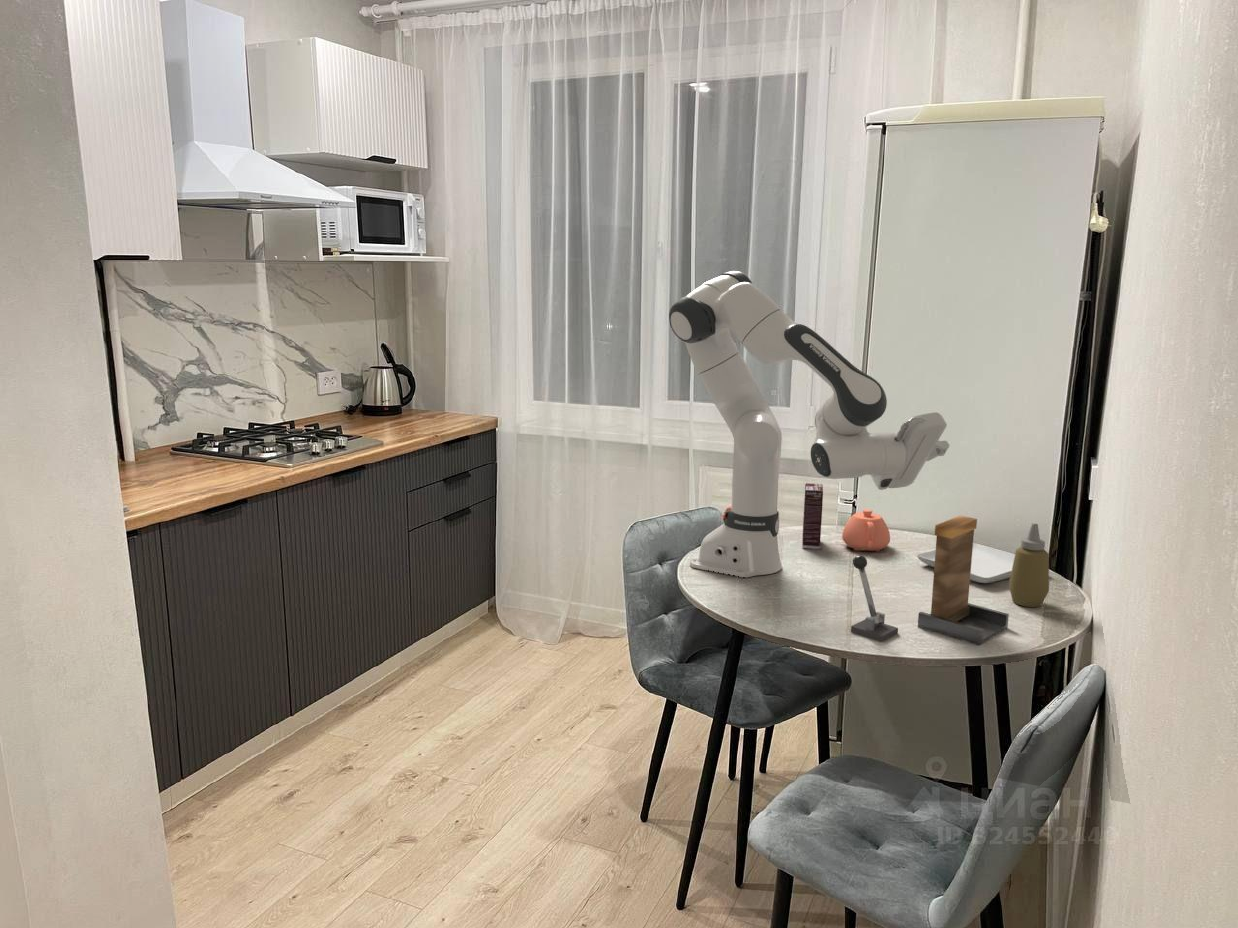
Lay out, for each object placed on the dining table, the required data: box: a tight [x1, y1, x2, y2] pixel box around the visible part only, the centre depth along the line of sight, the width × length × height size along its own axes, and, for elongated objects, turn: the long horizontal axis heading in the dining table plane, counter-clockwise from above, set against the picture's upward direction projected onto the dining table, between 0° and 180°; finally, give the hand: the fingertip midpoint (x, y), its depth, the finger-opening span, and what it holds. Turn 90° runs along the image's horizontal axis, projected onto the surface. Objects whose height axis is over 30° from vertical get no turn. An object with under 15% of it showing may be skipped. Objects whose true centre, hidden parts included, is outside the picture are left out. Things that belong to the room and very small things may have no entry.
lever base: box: [850, 611, 899, 643], centre depth 178 cm, size 7×6×4 cm
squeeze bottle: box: [1008, 523, 1050, 608], centre depth 193 cm, size 8×8×18 cm
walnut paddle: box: [930, 515, 978, 622], centre depth 181 cm, size 4×11×21 cm, turn 133°
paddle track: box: [917, 602, 1010, 646], centre depth 181 cm, size 13×13×3 cm
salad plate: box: [916, 542, 1015, 584], centre depth 217 cm, size 21×21×3 cm
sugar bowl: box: [841, 508, 891, 552], centre depth 233 cm, size 12×14×10 cm
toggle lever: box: [852, 554, 883, 627], centre depth 178 cm, size 3×3×14 cm
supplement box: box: [801, 482, 824, 550], centre depth 236 cm, size 9×5×16 cm, turn 168°
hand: (945, 448), depth 189 cm, fingers closed
